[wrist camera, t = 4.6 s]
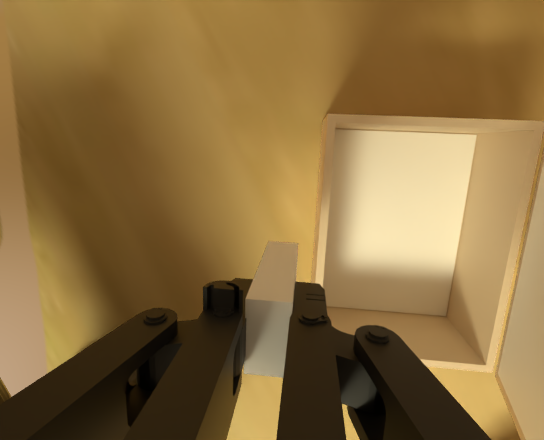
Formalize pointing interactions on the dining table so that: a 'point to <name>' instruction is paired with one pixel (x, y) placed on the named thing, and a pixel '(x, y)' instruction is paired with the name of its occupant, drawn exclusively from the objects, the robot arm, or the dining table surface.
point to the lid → (526, 330)
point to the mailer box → (423, 228)
